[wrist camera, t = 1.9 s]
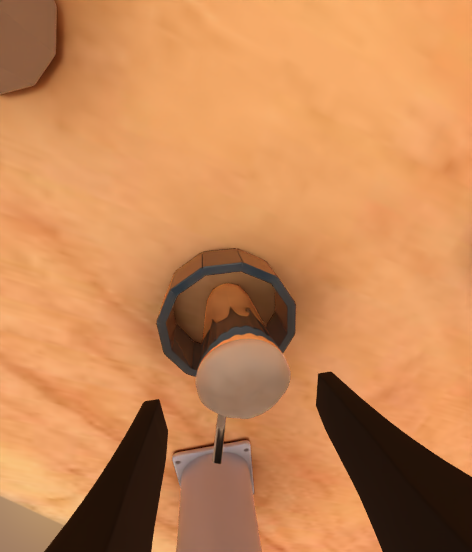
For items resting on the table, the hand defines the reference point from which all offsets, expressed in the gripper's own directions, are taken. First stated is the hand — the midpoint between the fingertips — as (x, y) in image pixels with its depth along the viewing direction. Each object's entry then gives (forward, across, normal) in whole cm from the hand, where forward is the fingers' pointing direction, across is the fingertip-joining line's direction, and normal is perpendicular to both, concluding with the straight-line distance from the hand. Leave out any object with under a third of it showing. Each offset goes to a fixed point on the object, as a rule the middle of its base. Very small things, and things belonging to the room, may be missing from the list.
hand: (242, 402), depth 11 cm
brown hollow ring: (+9, 0, 0) cm, 9 cm away
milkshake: (+9, 0, 0) cm, 9 cm away
